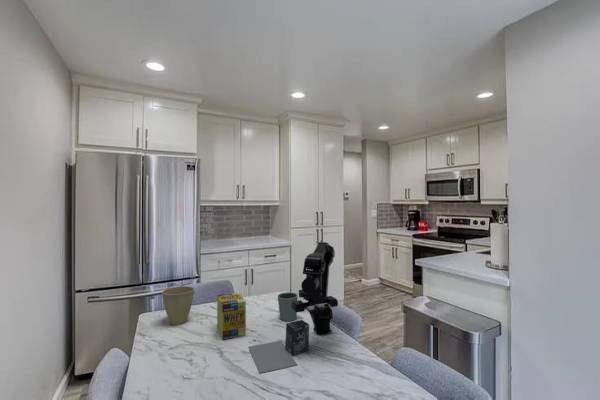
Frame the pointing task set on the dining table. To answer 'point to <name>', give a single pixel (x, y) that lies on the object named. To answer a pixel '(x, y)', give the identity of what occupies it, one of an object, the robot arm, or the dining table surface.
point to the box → (297, 337)
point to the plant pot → (178, 303)
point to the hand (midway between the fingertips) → (315, 324)
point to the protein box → (231, 315)
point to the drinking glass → (287, 306)
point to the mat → (271, 357)
